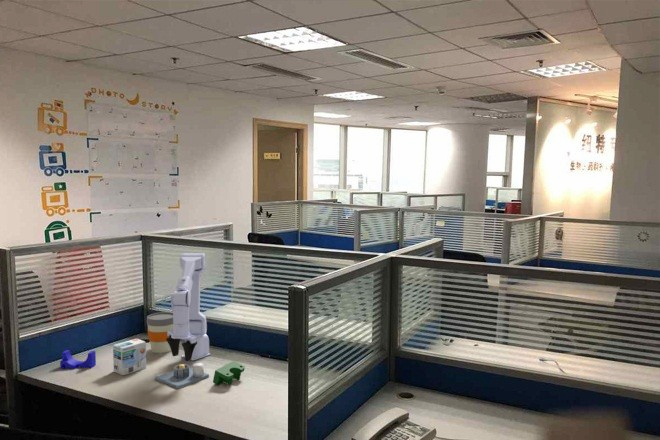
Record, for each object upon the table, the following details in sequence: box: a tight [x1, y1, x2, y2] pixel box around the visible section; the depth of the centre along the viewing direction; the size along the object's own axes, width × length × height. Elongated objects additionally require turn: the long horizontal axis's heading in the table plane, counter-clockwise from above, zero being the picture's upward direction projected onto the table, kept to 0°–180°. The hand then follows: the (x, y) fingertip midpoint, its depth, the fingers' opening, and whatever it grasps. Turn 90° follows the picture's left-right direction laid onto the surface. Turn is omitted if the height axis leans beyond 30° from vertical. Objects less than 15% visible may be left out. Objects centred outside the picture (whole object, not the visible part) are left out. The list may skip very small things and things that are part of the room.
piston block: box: [154, 362, 210, 390], centre depth 196 cm, size 14×14×5 cm
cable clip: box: [59, 349, 97, 370], centre depth 206 cm, size 12×4×6 cm, turn 87°
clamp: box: [212, 360, 246, 386], centre depth 194 cm, size 12×6×9 cm, turn 148°
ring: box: [173, 363, 191, 379], centre depth 196 cm, size 6×6×4 cm
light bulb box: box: [112, 338, 147, 376], centre depth 204 cm, size 11×7×11 cm, turn 143°
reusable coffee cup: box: [146, 311, 173, 354], centre depth 227 cm, size 13×13×15 cm
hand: (181, 357), depth 196 cm, fingers open, 7 cm apart
